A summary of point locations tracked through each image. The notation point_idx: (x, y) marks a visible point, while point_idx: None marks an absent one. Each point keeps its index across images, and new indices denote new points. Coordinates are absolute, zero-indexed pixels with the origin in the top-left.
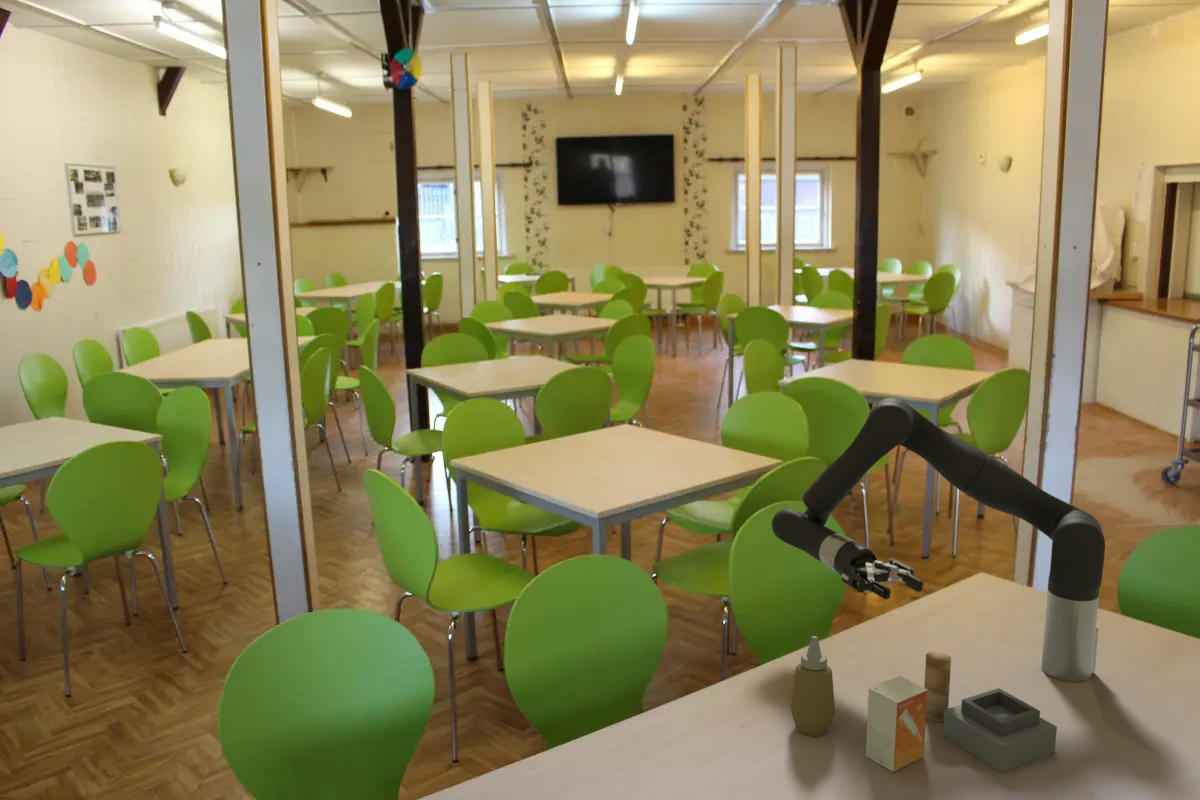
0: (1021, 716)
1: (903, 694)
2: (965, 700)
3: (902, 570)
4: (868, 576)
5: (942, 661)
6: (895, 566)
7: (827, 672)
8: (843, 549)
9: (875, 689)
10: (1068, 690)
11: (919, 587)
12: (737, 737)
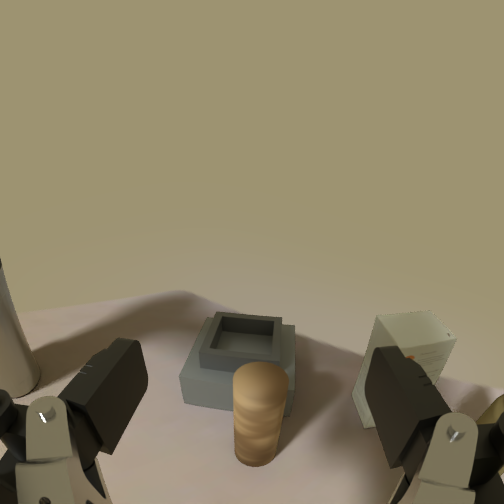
0: (247, 315)
1: (416, 316)
2: (276, 357)
3: (43, 436)
4: (463, 474)
5: (270, 366)
6: (32, 473)
7: (501, 397)
8: None
9: (449, 333)
10: (59, 370)
11: (143, 364)
12: None
